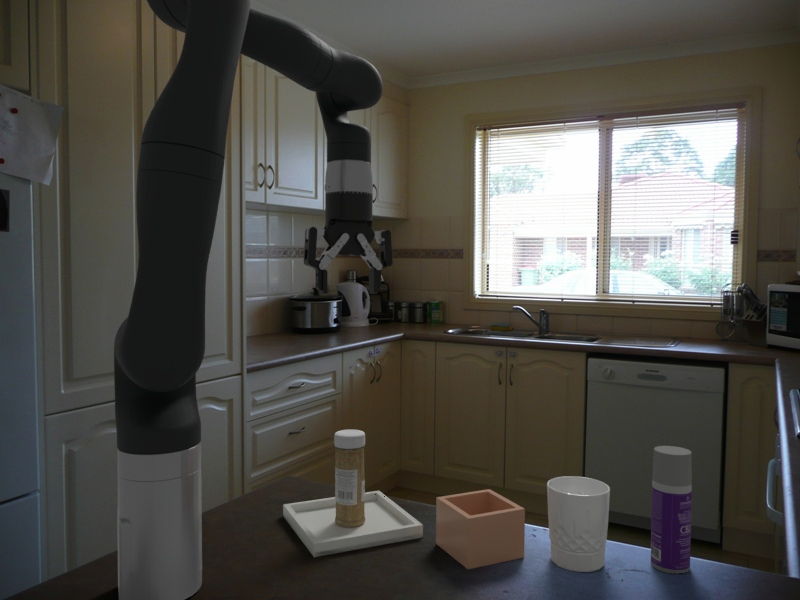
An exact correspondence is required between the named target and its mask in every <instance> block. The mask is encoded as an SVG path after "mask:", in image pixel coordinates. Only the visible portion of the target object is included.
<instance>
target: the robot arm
mask: <svg viewBox="0 0 800 600" xmlns="http://www.w3.org/2000/svg"><path fill="white" fill-rule="evenodd" d="M146 2H147V4H148V6H149V8H150V9H151V11H152V12H153V13H154V15H156V17H157V18H158V19H159V20H160V21H161V22H162V23H164V25H167V26H169V28H172V29H174V30H175V31H178V32H181V33H183V34H184V33H185V34H184V40H183V45H182V50H181V52H180V57H179V58H178V61H177V64H176V66H175V69H173V73H172V74H171V76H170V77H169V79H168V81H167V83H166V85H165V86H164V88H163V90H162V91H161V93H160V95H159V96H158V98H157V100H156V102H155V104H153V105H154V106H153V108H152V109H151V111H150V113H149V115H148V117H147V120H146V122H145V124H144V127H143V131H142V136H141V141H140V149H139V157H138V158H139V159H138V167H137V173H136V176H137V177H136V189H135V190H136V195H135V197H136V198H135V199H136V202H135V205H136V206H135V207H136V212H135V213H136V226H137V227H136V229H137V242H138V260H137V261H138V262H137V271H136V279H135V285H134V288H133V293H132V298H131V302H130V308H129V311H128V314H127V317H126V318H125V319H124V321H123V322H122V323H120V326H119V327H118V329H117V332H116V334H115V338H114V343H113V344H114V345H113V369H114V371H113V372H114V373H113V374H114V377H113V378H114V379H113V380H114V381H113V382H114V417H115V418H114V419H115V428H116V431H115V432H116V449H117V451H116V452H117V453H116V457H117V458H116V460H117V461H116V465H117V467H116V468H117V471H116V472H117V511H116V513H117V514H116V515H117V516H116V518H117V520H116V522H117V524H116V525H117V527H116V529H117V532H116V533H117V589H118V591H117V592H118V600H186V599H188V598H189V597H192V596H193V595H194V594H196V593H198V591H199V590H200V589H201V587H202V584H203V549H202V548H203V547H202V545H203V538H202V537H203V536H202V535H203V533H202V532H203V530H202V529H203V527H202V526H203V525H202V524H203V523H202V516H203V515H202V513H203V512H202V511H203V509H202V504H203V503H202V423H201V416H200V412H199V405H198V400H197V376H196V375H197V372H198V371H199V369H200V367H201V365H202V364H203V360H204V357H205V352H206V292H207V289H206V285H207V274H208V273H207V271H208V265H209V259H210V253H211V248H212V244H213V238H214V233H215V230H216V229H215V228H216V223H217V222H216V221H217V217H218V210H219V204H220V198H221V193H222V185H223V184H222V183H223V175H224V167H225V160H226V159H225V158H226V147H227V146H226V144H227V137H228V135H227V133H228V127H229V120H230V113H231V105H232V101H233V100H232V99H233V92H234V86H235V79H236V74H237V68H238V65H239V64H238V63H239V60H240V56H245V57H247V58H250V59H251V60H254V61H256V62H257V63H260V64H262V65H264V66H266V67H268V68H270V69H272V70H273V71H276V72H277V73H279V74H281V75H283V76H284V77H285V78H287V79H289V80H291V82H294V83H296V84H298V85H299V86H301V87H303V88H305V89H306V90H309V91H311V92H315V96H316V101H317V105H318V108H319V112H320V115H321V118H322V124H323V127H324V128H323V129H324V132H325V135H326V170H325V179H324V182H325V183H324V192H325V193H324V196H325V198H324V199H325V200H324V201H325V205H324V207H325V208H324V209H325V211H324V213H325V215H324V216H325V217H324V218H325V225H324V228H317V227H315V226H312V227H307V228H306V229H305V231H304V232H305V233H304V247H303V248H304V249H303V251H304V252H303V264H304V265H305V266H308V267H311V268H313V269H314V271H315V288H316V291H318V292H319V294H320V295H327V294H328V270H326V269H327V267H328V266H329V265H330V263H331V262H332V261H333V260H334V259H335V258H336V257H337V256H339V257H344V256H345V257H346V256H350V257H361V258H362V260H363V261H364V262H365V263H366V264H367V266H368V267H369V269H370V270H369V271H368V293H369V294H370V295H377V294H378V292H379V291H380V290H381V287H382V284H381V283H382V279H381V278H382V271H383V269H386V268H389V267H391V266H392V265H393V247H392V245H393V243H392V232H391V231H390V229H382V230H374V228H373V172H372V135H371V132H370V130H369V129H368V127H366V126H365V125H363V124H356V123H351V122H350V121H349V116H348V112H353V111H360V110H367V109H370V108H372V107H374V106H376V105H377V104H378V103H379V102H380V99H381V98H382V95H383V91H384V88H383V87H384V85H383V80H382V77H381V74H380V72H379V71H378V70H377V68H376V67H375V66H374V65H373V64H372V63H371V62H369V61H368V60H366V59H364V58H363V57H361V56H359V55H355V54H353V53H350V52H347V51H345V50H341V49H337V48H334V47H331V46H330V45H329V44H328V43H326V42H325V41H323V40H322V39H321V38H319V37H318V36H316V35H315V33H313V32H311V31H310V30H308V29H306V28H304V27H303V26H300V25H298V24H296V23H294V22H291V21H288V20H285V19H283V18H280V17H276V16H273V15H270V14H267V13H264V12H261V11H258V10H255V9H253V8H251V4H252V0H146ZM321 237H323V239H324V241H325V242H326V243H327V244H328V245H327V246H326V247H325V249H324V250H323V251H322V253H321V255H320V257H319V258H318V259H317V258H316V257H317V243H318V242H319V241H320V240H321ZM373 240H375V241H376V243H377V244H378V251H379V258H378V257H377V253H376V251H374V249H373V248H372V246H371V243H372V242H373Z"/></svg>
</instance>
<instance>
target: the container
mask: <svg viewBox="0 0 800 600" xmlns="http://www.w3.org/2000/svg"><path fill="white" fill-rule="evenodd" d="M652 459H653V460H652V461H653V463H652V479H651V480H652V481H651V482H652V483H651V522H650V523H651V525H650V526H651V527H650V529H651V530H650V565H651V566H652V567H653V568H654V569H657V570H658V571H660V572H663V573H667V574H671V573H672V575H679V574H678V573H684V574H686V573H685V572H687V571H689V572H690V570H691V548H692V547H691V539H692V501H693V499H692V498H693V495H692V494H693V490H692V489H693V485H692V484H693V483H692V482H693V478H692V475H693V469H692V468H693V467H692V463H693V462H692V460H693V459H692V450H690V449H687V448H685V447H680V446H675V445H674V446H672V445H657V446H655V447H654V448H653V458H652ZM674 573H676V574H674ZM687 573H688V572H687Z"/></svg>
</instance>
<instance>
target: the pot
mask: <svg viewBox="0 0 800 600" xmlns="http://www.w3.org/2000/svg"><path fill="white" fill-rule="evenodd" d="M435 505H436V507H435V508H436V511H435V513H436V514H435V516H436V517H435V520H436V521H435V528H436V529H435V531H436V532H435V544H436V545H437V546H438V547H440V549H442V550H443V551H444V552H445V553H447V554H448V555H449V556H451V557H452V558H453V559H454V560H456V561H457V562H458V563H459V564H461V565H462V566H463V567H464V568H465V569H467V570H473V569H476V568H481V567H485V566H491V565H495V564H500V563H504V562H509V561H513V560H519V559H523V558H525V531H526V529H525V528H526V527H525V526H526V525H525V522H526V509H525V508H524V507H523V506H521V505H519V504H517V503H515V502H514V501H512V500H510V499H509V498H507V497H504V496H503V495H501V494H499V493H497V492H495V491H493V490H492V489H490V488H489V489H488V488H487V489H483V490H482V489H481V490H476V491H475V490H474V491H469V492H463V493H457V494H449V495H443V496H437V497H436V504H435Z"/></svg>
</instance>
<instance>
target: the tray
mask: <svg viewBox="0 0 800 600" xmlns="http://www.w3.org/2000/svg"><path fill="white" fill-rule="evenodd" d="M375 494H376V495H375ZM384 496H385V497H384ZM282 509H283V510H282V515H283V518H284V520H285V521H286V522H287V524H288V525H289V526H290V527H291V529H292V530H293V531H294V533H295V534H296V535H297V536H298V538H299V539H300V540H301V542H302V543H303V544H304V546H305V547H306V549H307V550H308V551H309V553H310V554H311V555H312V556H313V558H317V557H322V556H328V555H329V556H330V555H334V554H339V553H340V554H341V553H346V552H351V551H356V550H361V549H367V548H373V547H377V546H384V545H387V544H389V545H390V544H394V543H400V542H404V541H405V542H406V541H411V540H417V539H420V538H424V532H423V531H424V525H423V523H421V521H419V520H418V519H416V518H415V517H413V515H411V514H410V513H408V512H407V511H406V510H405V509H404V508H402V507H401V506H400V505H398V503H396V502H394V501H393V500H392V499H390V498H389V497H388V496H386V495H385V494H384V493H383V492H381V491H380V490H374V491H373V490H372V491H365V500H364V511H365V522H364V523H363V524H361V525H359V526H355V527H343V526H340V525H338V524H337V523H336V522H335V517H336V501H335V496H332V497H326V498H319V499H312V500H305V501H299V502H292V503H291V502H290V503H284V504H283V506H282Z"/></svg>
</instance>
